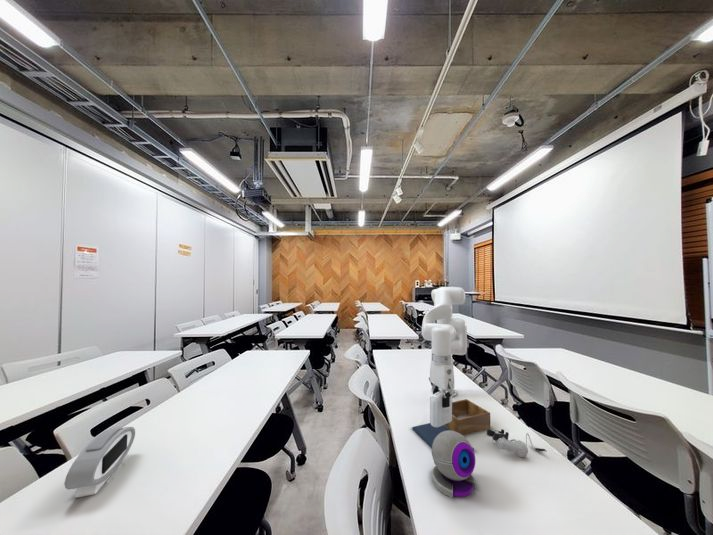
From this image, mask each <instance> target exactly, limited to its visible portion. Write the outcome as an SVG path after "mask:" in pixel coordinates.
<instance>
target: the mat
mask: <svg viewBox="0 0 713 535" xmlns="http://www.w3.org/2000/svg"><path fill="white" fill-rule="evenodd" d="M411 430H412V431H414V433H415V434H416V435H418V437H419V438H420V439H421V440H422V441H424V443H426V444H427V446H428V447H430V448H431V449H432V445H433V441H434V439H435V438H436V436H437V435H438V434H440V433H441V432H443V431H448V430H450V429H449V428H447V427H446V426H445V425H443V426H440V427H433V426H432V425H431V423H430V422H429V423H424V424H420V425H419V424H418V425H416V426H412V429H411ZM450 431H451V430H450ZM472 448H473V451H474V452H475V448H474V447H473V446H472Z"/></svg>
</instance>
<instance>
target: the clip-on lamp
mask: <svg viewBox="0 0 713 535" xmlns="http://www.w3.org/2000/svg"><path fill="white" fill-rule="evenodd" d="M509 435H510V433H509V432H507V431H506V432H505V429H502V428H501V429H500V430H496V429H491V428H489V429H486V436H488V437H491V440H492V444H493V445H496V444H497V447H498V448H499V449H500V450H504V451H507V452H511V453H514V454H515V455H516V456H518V457H519V458H525V457H527V456H528V453H529V449H528V447H527V446H528V439H529V442H530V445H531V447H532V448H533V449H534V450H535V451H538V452H541V453H543V452H548V450H547V449H545V448H539V447H534V445H533V443H532V442H533V441H532V439H531V436H530V434H529V433H528V432H526V434H525V442H524V441H522V440H520V439H515V438H514V439H509ZM494 441H495V442H494Z"/></svg>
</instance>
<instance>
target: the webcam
mask: <svg viewBox="0 0 713 535" xmlns="http://www.w3.org/2000/svg"><path fill="white" fill-rule="evenodd" d="M472 447H473V446H472V444H471V443H470V441H469V440H468V439H467V437H465V435H461V434H460V433H458V432H455V431H450V430H448V431H443V432H441V433H440V434H438V435H437V436H436V438H435V439H434V441H433V445H432V448H431V456H432V460H433V463H434V467H432V471H431V479H432V483H433V485H434V486H435V488H436V489H437V490H438V491H439V492H441V493H442V494H443V495H445V496H447V497H449V498H451V499H453V498H454V497H457V498H461V497H462V498H464V497H467V496H470V495H471V493H472V492H473V489H476V488H477V487H476V481H475V478H474V476H473V475H472V474H473V472H474V471H475V467H476V454H475V450H474V451H473V448H474V447H473V448H472Z"/></svg>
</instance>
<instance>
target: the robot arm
mask: <svg viewBox="0 0 713 535" xmlns="http://www.w3.org/2000/svg"><path fill="white" fill-rule="evenodd" d="M430 295H431V300H432V302H433V307H431V308H430V309H429V310H428V311H427V312H425V314H424V316H423V319H422V322H421V323H422V324H421V336H422V338H423V339H424V340H425V341H431V360H430V366H429V367H430V368H429V377H428V381H429V382H430V385H431V390H432V395H433V394H435V393H437V392H439V391H443V397H442V407H443V408H446V407H449V406H450V397H451V395H452V398H453V397H455V396H456V395H457V390H456V389H455V373H454V361H453V359H452V355H457V356H464V355H466V354H467V352H468V330H467V329H468V328H467V322H466V320H465V319H463V318H458V317H453V305H454V306H455V305H458V306H462V305H464V304H465V303H466V298H467V297H466V291H465V289H464V288H463V287H460V286H440V287H438V288H435V289H434V288H433V289H432V290H431V294H430ZM434 322H435V323H434ZM446 391H447V393H446Z"/></svg>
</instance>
